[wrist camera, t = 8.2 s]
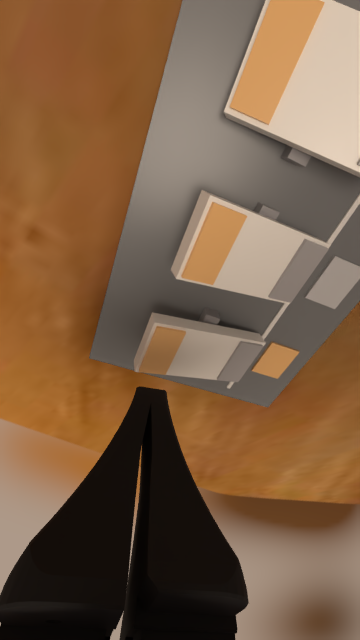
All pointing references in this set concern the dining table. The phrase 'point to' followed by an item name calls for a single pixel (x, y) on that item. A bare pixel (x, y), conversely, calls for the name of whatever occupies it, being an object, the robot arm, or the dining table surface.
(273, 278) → the rocker
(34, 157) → the dining table surface
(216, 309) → the switch unit
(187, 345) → the rocker
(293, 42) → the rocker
